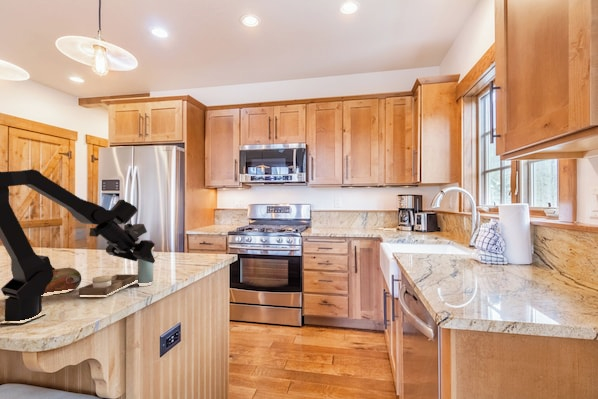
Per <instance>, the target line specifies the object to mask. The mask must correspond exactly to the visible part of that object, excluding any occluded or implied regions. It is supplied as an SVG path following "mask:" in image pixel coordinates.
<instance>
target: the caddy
mask: <svg viewBox="0 0 598 399" xmlns="http://www.w3.org/2000/svg"><path fill="white" fill-rule="evenodd" d="M111 276H112V280H111V285H110V286H108V287H106V288H93V282H92V283H89V284H87V285H84V286H82V287H79V288H78V296H79V295H107V294H109V293H111V292H113V291H115V290H117V289H119V288H121V287H123V286H125V285H127V284H130V283H132V282H134V281H135V280H138V274H131V273H130V274H125V273H123V274H114V275H111Z"/></svg>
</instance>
